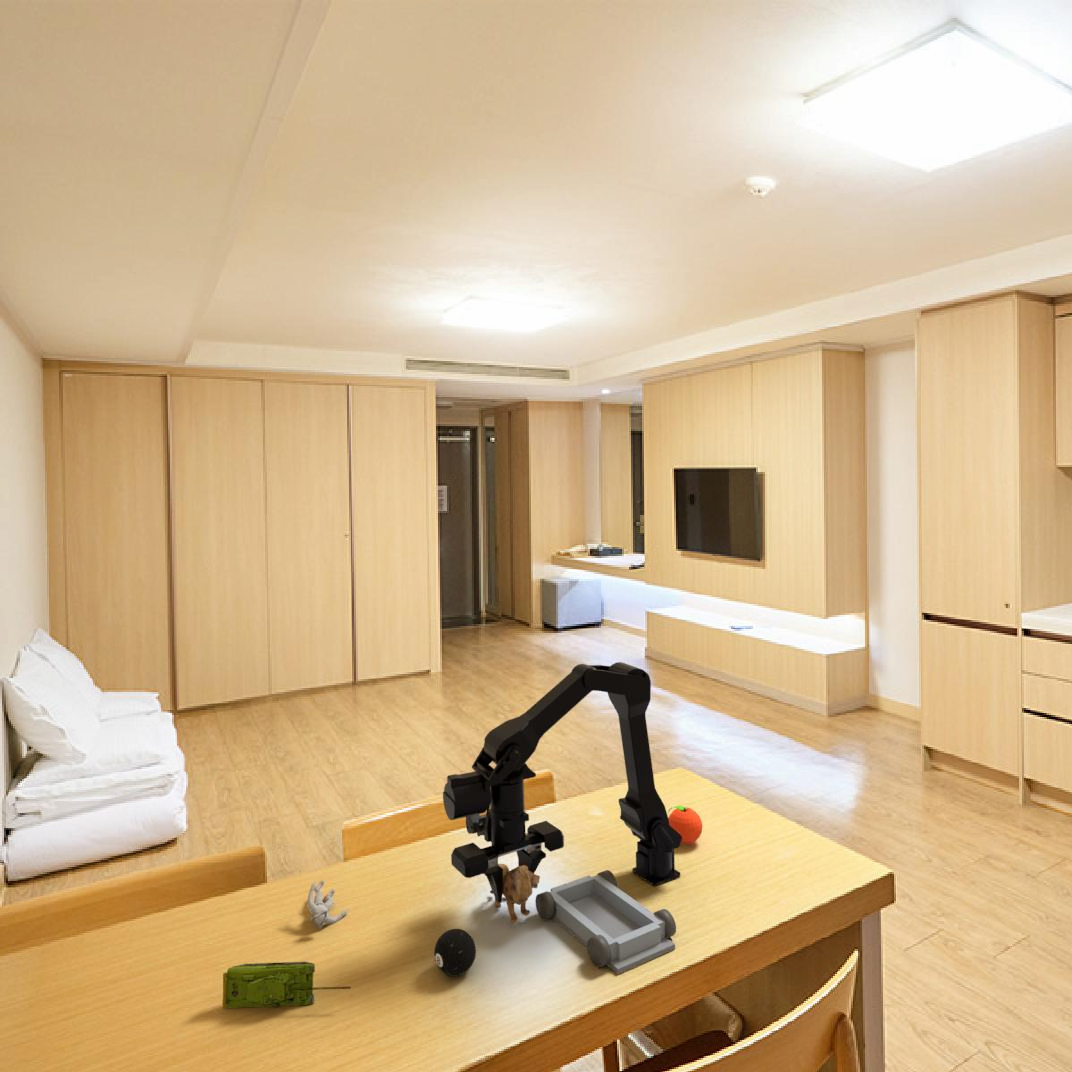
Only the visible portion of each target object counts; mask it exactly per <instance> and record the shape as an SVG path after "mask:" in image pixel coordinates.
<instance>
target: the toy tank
mask: <svg viewBox="0 0 1072 1072" xmlns="http://www.w3.org/2000/svg"><path fill="white" fill-rule="evenodd" d="M315 965H316V964H315V963H314V962H309V961H290V962H289V961H287V962H264V963H263V962H262V963H261V962H260V963H244V964H238V965H234V966H232V967H228V969H227V970H226V971H227V972H223V974H222V1001H221V1002H222V1009H230V1008H231V1009H234V1008H238V1009H239V1008H258V1007H259V1008H260V1007H264V1008H266V1007H270V1008H272V1007H276V1008H278V1007H285V1006H289V1007H290V1006H291V1007H294V1006H304V1005H305V1006H309V1005H313V1004H314V1002H315V994H314V991H315V990H319V989H321V990H347V989H351V987H352V986H328V987H327V986H326V987H325V986H323V987H320V986H319V987H314V973H315V971H316V970H315V968H316V966H315Z"/></svg>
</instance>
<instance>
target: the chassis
mask: <svg viewBox="0 0 1072 1072" xmlns="http://www.w3.org/2000/svg"><path fill="white" fill-rule="evenodd" d="M534 904H535V908H536V911H537V913H538V915H539V917H540V919H541V920H544V921H546V920H549V919H553V920H555V922H557V923H558V924H559V925H560V926H561V927H562V928H564V929H565V930H566V931H567V932H569V934H571V935H572V936H573V937H574V938H575V939H577V940H578V941H579V942H580V943H581V944H582V945H583V946H584V947H586V949H587V954H588V956H589V959H590V960H591V963H592V964H593V965H594V966H595V967H596V968H602V967H604V966H606V965H607V966H608V967H609V968H610V969H612V971H613V972H615V973H616V974H617V975H621V974H622V973H625V972H627V971H630V970H631V969H634V968H636V967H639V966H640V965H643V964H645V963H647V962H649V961H651V960H654V959H655V958H658V957H661V956H663V955H664V954H667V953H669V952H672V951H674V950H675V949H676V943H674V942H673V941H671V940H670V939H669V938H671V937H673V936H675V934H676V933H677V925H676V921H675V919H674V917H673V915H672V913H671V912H670V911H669V910H668V909H666V908H662V909H660V910H657V911H654V912H653V911H651V910H650V909H648V908H647V907H645V906H644V905H642V904H641V903H640V902H639V901H637V900H635V899H634V898H633V897H631V896H630V895H628V894H627V893H626V892H624V891H623V890H621V889H620V888H619V887H618V882H617V879H616V877H615V875H614V873H613V872H612V871H611V870H608V869H606V870H603V871H601V872H598V873H597V874H596V875H594V876H593V875H592V876H591V875H589V874H588V875H586V876H583V877H580V878H577V879H575V880H572V881H569V882H566V883H564V884H560V885H557V886H554V887H552V888H550V891H543V892H541V893H538V894H537V895H536V896H535V903H534Z"/></svg>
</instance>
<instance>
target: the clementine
mask: <svg viewBox="0 0 1072 1072" xmlns="http://www.w3.org/2000/svg"><path fill="white" fill-rule="evenodd" d="M673 808H675V809H674V810H672V809H673ZM670 810H672V811H671V813H670ZM669 813H670V814H669ZM667 814H669V816H668V818H669V825H670V826H671V827H672V828H673V829H674V830H676V831H677V832H678V833H679V834H680V835H681V836H682V840H681V843H680V845H681V844H682V845H691V844H693V843H695V842H696V841H697V840H698V839H699V838H700V837H701V835H702V832H703V822H702V819H701V817H700V815H699V814H698V813H697V812H696V810H694V809H692V808H690V807H688V806H683V805H675V806H673V807H670V808H669V809H668V813H667Z"/></svg>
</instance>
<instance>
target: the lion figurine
mask: <svg viewBox="0 0 1072 1072" xmlns="http://www.w3.org/2000/svg"><path fill="white" fill-rule="evenodd" d="M498 865H499V866H500V867H501V868H502V869H503V889H502V896H504V898H505V901H506V907H507V911H508V913H509V918H510V919H509V923H511V924H516V923H517V922H518V915H517V914H516V912H515V904H516V905H519V906H520V913H521V915H522V916H524V917H525V916H526V917H527V916H529V915H530V913H531V911H530V910H529V909H527V907H526V905H527V904H526V903H527V901H528V899H529V898H530V897H531V896H532V894H533V889H537V888H538V887H539V885H538V884H539V883H540V878H541V876H540V875H538V874H535V873H534V874H533V873H532V872H531V871H529V870H528V867H527V866H525V865H523V866H516V867H515V868H513V869H511V870H510V869H509V867H508V865H507V864H505V863H498ZM489 893H491V895H494V894H493V891H492V889H491V890H489ZM501 907H502V904H501V903H498V902H497V901H496V899H495V898H494V909H495V910H498V909H500V908H501Z"/></svg>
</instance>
